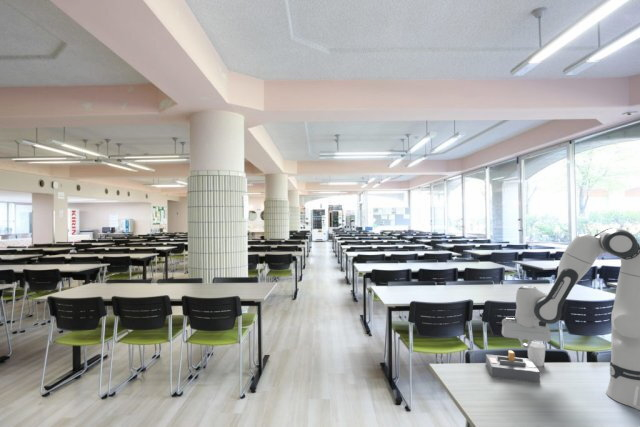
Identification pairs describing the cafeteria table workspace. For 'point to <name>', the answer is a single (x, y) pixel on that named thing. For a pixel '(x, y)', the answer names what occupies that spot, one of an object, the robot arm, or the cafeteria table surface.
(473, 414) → the cafeteria table surface
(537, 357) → the white cup
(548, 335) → the robot arm
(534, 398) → the cafeteria table surface
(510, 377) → the breaker box
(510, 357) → the breaker toggle
